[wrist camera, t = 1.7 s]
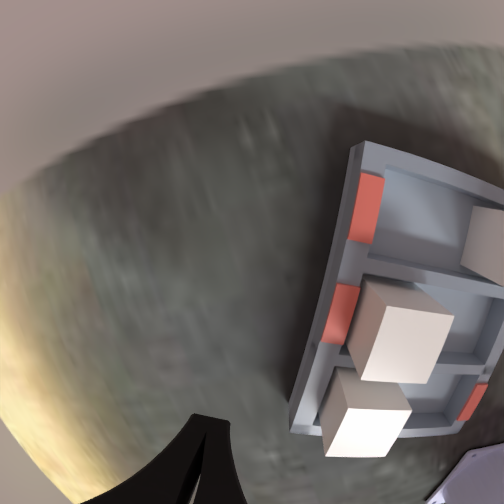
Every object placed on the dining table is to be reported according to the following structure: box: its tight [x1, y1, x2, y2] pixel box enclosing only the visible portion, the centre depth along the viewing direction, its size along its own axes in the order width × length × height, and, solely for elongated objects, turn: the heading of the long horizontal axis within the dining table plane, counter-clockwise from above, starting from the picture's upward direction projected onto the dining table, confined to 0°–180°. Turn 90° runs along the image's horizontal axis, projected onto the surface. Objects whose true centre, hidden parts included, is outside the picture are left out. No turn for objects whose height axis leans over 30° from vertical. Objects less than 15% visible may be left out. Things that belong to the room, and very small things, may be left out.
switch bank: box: [288, 141, 504, 438], centre depth 13 cm, size 11×14×3 cm
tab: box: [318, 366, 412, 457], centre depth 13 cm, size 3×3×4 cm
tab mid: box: [345, 274, 454, 384], centre depth 12 cm, size 3×3×4 cm
